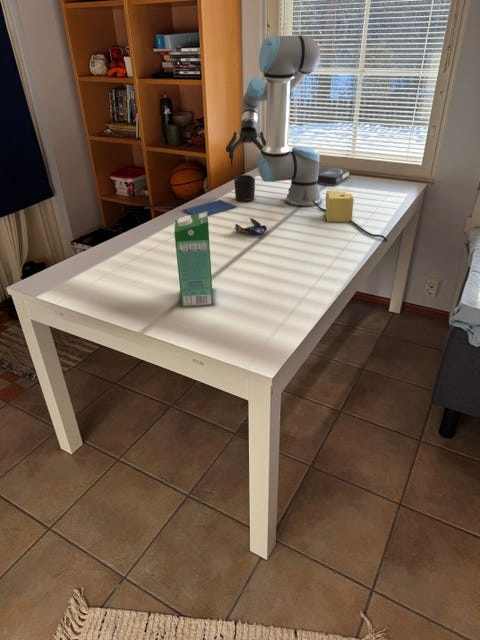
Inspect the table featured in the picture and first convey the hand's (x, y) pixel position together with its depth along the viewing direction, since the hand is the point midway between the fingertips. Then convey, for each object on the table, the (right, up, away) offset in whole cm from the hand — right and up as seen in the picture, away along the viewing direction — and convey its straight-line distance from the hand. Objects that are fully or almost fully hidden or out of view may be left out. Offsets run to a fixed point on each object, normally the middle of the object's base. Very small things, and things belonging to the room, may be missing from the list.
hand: (246, 164), depth 217 cm
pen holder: (-1, -16, 0) cm, 16 cm away
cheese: (+38, -30, -24) cm, 53 cm away
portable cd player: (+42, +1, +25) cm, 49 cm away
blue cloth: (-16, -23, -11) cm, 30 cm away
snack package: (+2, -38, -35) cm, 52 cm away
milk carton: (-16, -66, -78) cm, 103 cm away
